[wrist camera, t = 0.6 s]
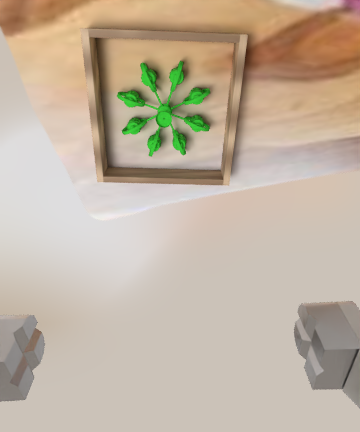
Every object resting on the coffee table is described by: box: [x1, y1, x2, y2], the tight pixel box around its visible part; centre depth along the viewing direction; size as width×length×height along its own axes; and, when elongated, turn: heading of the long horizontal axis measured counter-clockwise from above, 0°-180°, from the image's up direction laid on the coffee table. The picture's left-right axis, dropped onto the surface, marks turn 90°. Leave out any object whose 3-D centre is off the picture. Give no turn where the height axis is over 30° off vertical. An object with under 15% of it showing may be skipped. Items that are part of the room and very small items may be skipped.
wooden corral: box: [80, 28, 248, 185], centre depth 49 cm, size 22×22×4 cm
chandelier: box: [117, 61, 210, 157], centre depth 48 cm, size 15×15×7 cm
